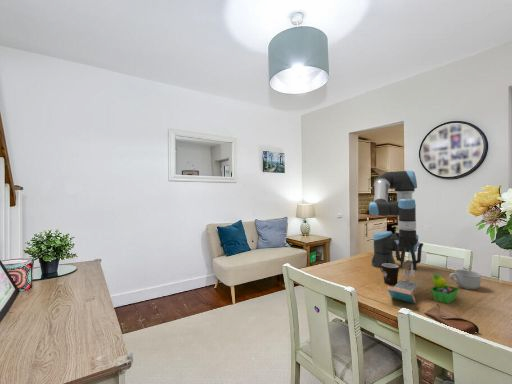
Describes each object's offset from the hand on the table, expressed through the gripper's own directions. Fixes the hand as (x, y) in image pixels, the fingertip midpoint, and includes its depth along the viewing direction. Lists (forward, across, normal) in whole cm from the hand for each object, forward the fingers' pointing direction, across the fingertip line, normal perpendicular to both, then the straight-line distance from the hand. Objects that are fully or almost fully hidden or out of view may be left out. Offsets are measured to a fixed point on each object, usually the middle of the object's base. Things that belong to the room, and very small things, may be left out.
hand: (408, 275), depth 131 cm
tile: (+9, 0, -11) cm, 14 cm away
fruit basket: (+9, +14, +3) cm, 17 cm away
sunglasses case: (+10, +18, -22) cm, 30 cm away
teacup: (+9, +20, +26) cm, 34 cm away
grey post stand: (+4, 0, -3) cm, 5 cm away
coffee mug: (+9, -12, +11) cm, 18 cm away
